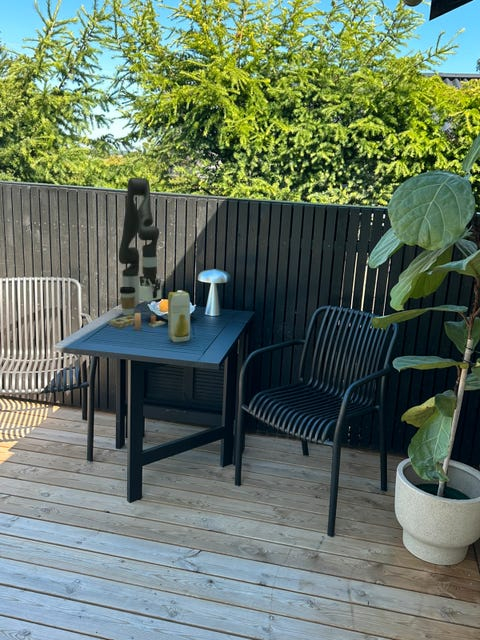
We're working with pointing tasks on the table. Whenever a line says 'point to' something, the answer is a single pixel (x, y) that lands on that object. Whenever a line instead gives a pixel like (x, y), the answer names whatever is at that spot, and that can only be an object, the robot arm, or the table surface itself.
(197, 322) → the table surface
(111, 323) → the socket board
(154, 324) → the pattern board
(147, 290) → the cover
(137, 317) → the terracotta peg
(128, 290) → the coffee cup
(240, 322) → the table surface
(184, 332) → the juice carton
